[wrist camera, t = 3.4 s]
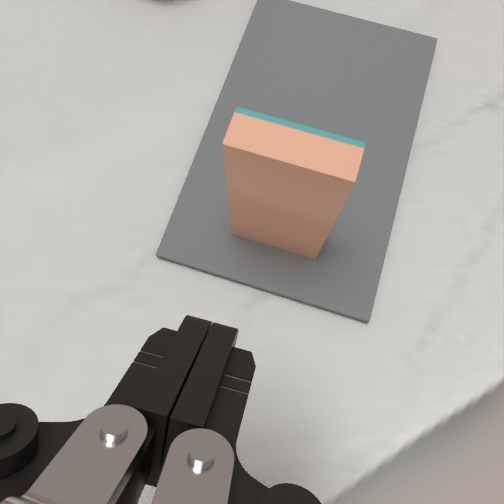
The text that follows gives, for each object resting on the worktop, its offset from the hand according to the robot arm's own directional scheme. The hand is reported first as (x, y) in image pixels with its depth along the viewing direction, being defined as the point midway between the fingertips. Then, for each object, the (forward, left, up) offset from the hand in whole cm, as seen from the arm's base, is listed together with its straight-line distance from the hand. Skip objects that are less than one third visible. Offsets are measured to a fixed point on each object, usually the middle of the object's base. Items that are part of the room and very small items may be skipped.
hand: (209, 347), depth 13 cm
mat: (0, +18, -17) cm, 25 cm away
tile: (0, +10, -16) cm, 19 cm away
